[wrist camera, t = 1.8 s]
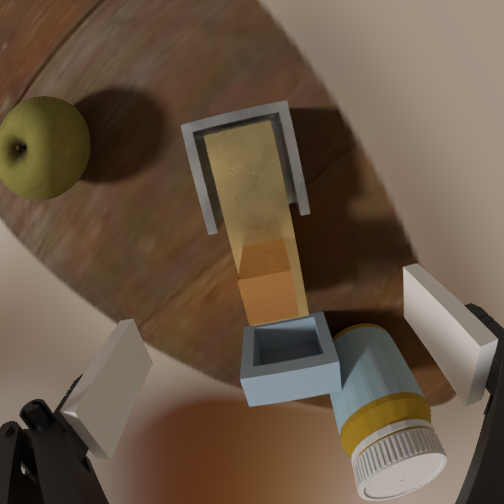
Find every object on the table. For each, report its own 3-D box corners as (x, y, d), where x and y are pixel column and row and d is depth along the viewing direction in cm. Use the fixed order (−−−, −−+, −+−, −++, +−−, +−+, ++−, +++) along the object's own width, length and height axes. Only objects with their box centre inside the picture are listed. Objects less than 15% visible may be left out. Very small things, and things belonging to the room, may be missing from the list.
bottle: (384, 308, 27) (457, 432, 13) (394, 361, 29) (448, 478, 15) (312, 335, 28) (343, 477, 14) (331, 385, 30) (359, 512, 16)
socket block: (244, 326, 28) (239, 379, 21) (323, 311, 27) (339, 361, 21) (251, 352, 29) (249, 406, 22) (326, 338, 28) (341, 390, 22)
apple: (78, 82, 21) (26, 71, 14) (123, 153, 23) (77, 161, 16) (24, 139, 23) (-29, 146, 16) (64, 207, 25) (15, 230, 18)
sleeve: (196, 128, 22) (180, 125, 18) (281, 108, 22) (286, 100, 17) (218, 216, 25) (208, 235, 20) (300, 199, 24) (310, 213, 19)
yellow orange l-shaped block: (213, 136, 22) (184, 134, 13) (268, 123, 21) (274, 113, 13) (253, 299, 26) (250, 372, 17) (302, 289, 26) (319, 360, 17)
